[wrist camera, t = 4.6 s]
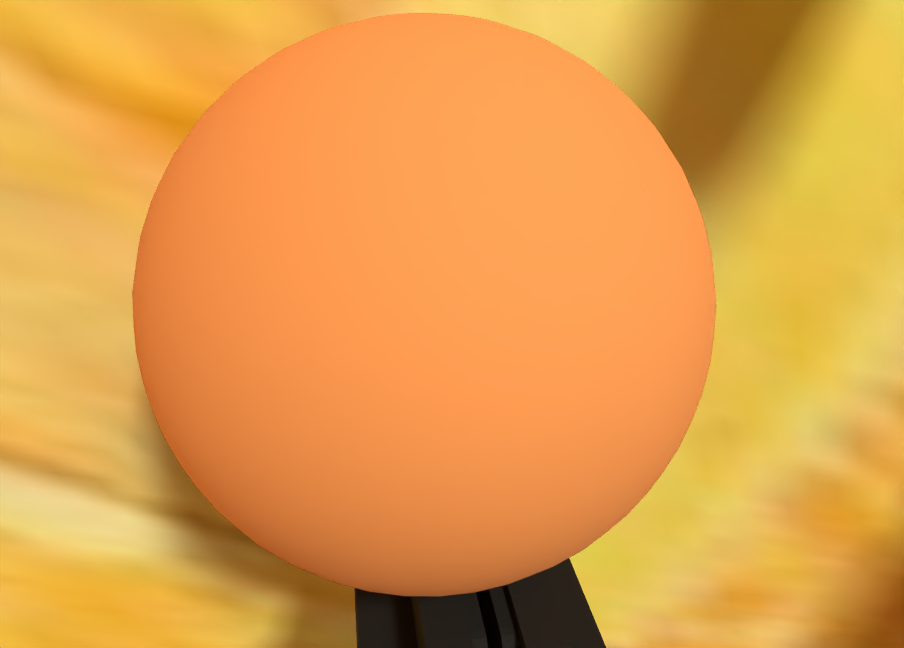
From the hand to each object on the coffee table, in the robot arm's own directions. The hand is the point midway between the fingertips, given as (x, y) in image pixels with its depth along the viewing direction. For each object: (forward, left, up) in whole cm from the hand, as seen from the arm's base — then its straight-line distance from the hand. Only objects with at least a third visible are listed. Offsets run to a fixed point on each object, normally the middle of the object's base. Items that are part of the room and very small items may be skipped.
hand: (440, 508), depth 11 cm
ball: (-5, -1, +2) cm, 5 cm away
